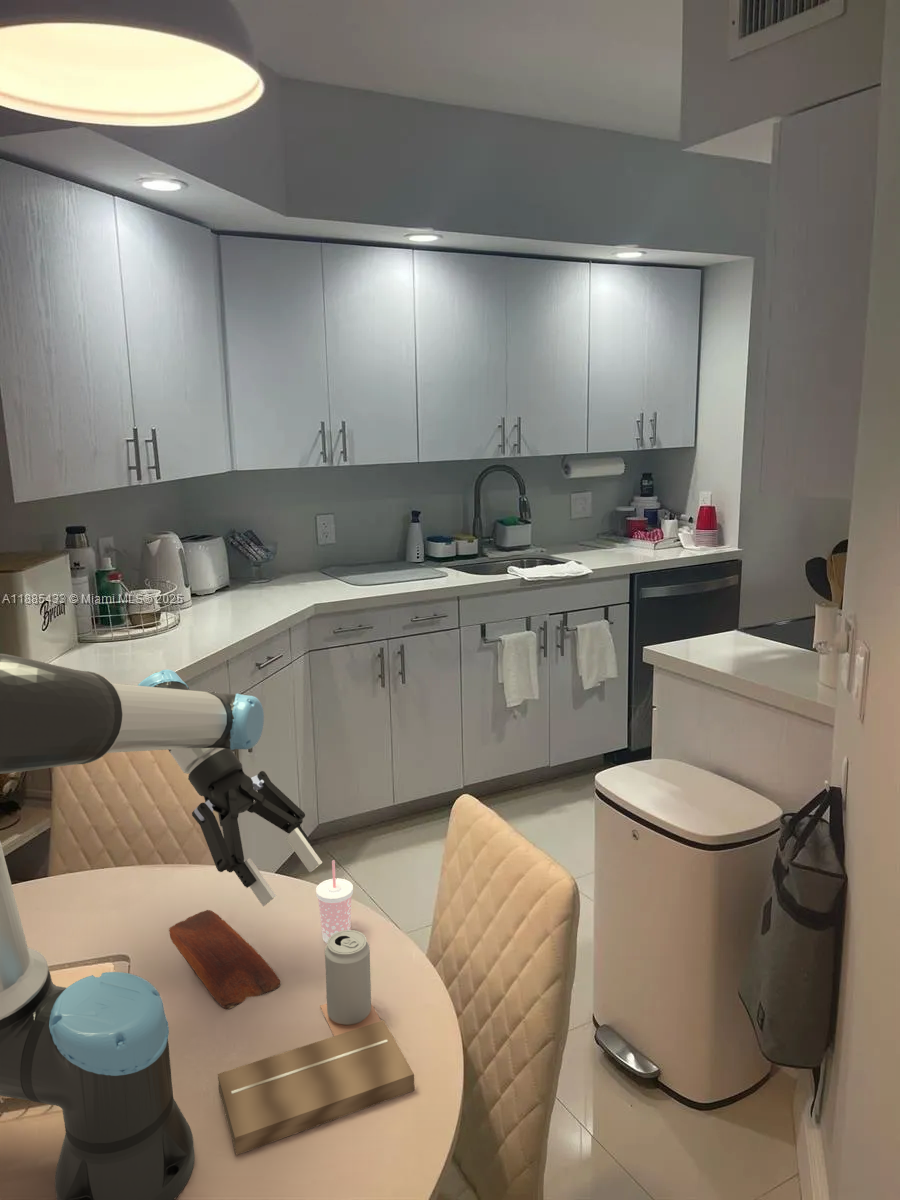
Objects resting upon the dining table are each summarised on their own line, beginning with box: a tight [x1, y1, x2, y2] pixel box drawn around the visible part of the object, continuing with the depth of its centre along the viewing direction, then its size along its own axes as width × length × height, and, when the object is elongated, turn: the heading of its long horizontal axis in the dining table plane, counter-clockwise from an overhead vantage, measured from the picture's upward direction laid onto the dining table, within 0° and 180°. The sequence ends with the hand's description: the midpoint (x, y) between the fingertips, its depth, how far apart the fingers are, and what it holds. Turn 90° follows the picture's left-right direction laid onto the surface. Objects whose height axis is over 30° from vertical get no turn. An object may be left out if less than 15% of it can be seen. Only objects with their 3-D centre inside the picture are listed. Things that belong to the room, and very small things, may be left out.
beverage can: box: [324, 929, 372, 1025], centre depth 125 cm, size 6×6×12 cm
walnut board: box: [217, 1019, 415, 1156], centre depth 113 cm, size 23×11×3 cm, turn 115°
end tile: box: [319, 1003, 382, 1037], centre depth 127 cm, size 7×7×1 cm
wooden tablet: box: [168, 909, 281, 1010], centre depth 141 cm, size 27×10×2 cm, turn 37°
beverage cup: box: [315, 859, 354, 944], centre depth 143 cm, size 6×6×14 cm
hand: (293, 883), depth 127 cm, fingers open, 10 cm apart
